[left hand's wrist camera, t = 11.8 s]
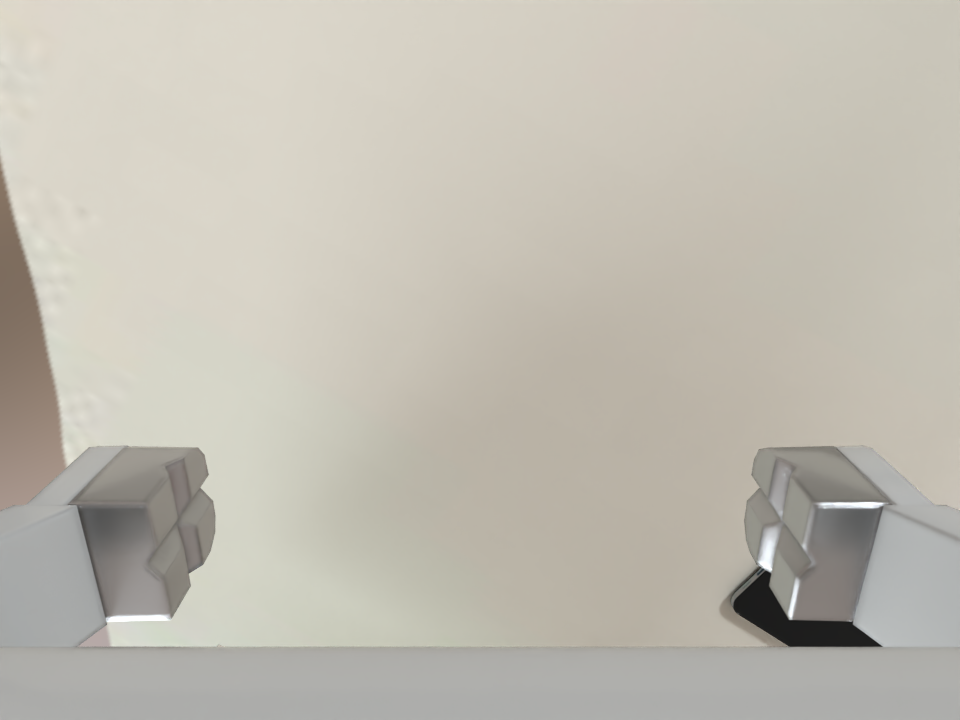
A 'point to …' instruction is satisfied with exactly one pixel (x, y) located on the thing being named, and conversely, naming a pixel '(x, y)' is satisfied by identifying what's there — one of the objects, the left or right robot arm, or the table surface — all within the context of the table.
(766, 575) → the smartphone
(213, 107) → the table surface
